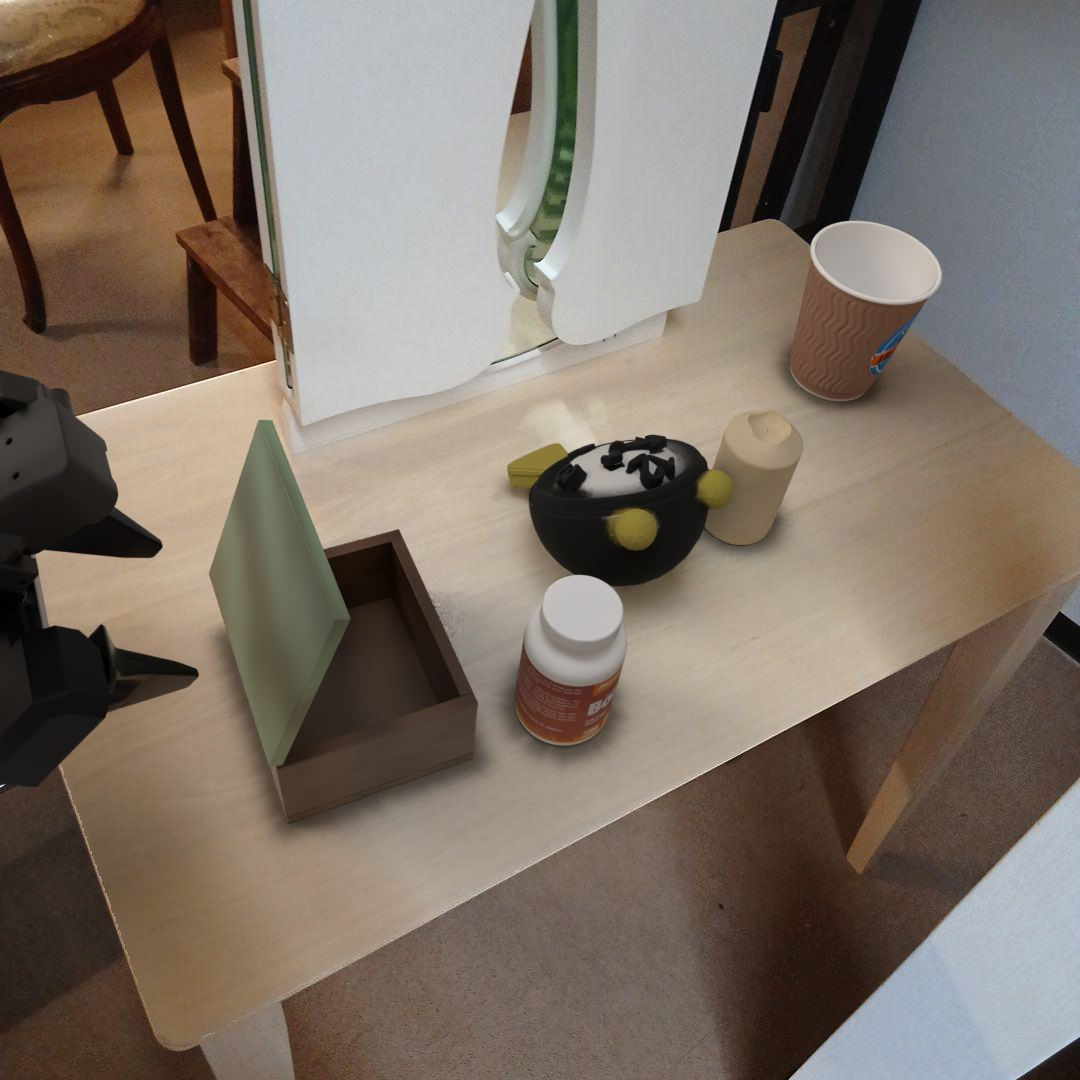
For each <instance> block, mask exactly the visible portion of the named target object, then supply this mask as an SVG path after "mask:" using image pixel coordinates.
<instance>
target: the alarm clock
mask: <svg viewBox="0 0 1080 1080" xmlns="http://www.w3.org/2000/svg"><path fill="white" fill-rule="evenodd" d="M506 466H507V468H506V469H507V470H506V471H507V475H508V479H509V483H510V485H511V486H512V487H513V488H522V489H523V488H524V489H526V488H527V489H529V492H528V511H529V516H530V518H531V522H532V526H533V529H534V531H535V533H536V535H537V538H538V539H539V541H540V543H541V544H542V546H543V547H544V549H545V550H546V551H547V553H548V554H549V555H550V556H551V557H552V558H553V559H554V561H555V562H557V563H558V565H560V566H561V567H562V568H563V569H565V570H566V571H567V572H569V573H570V574H572V575H585V576H591V577H594V578H597V579H600V580H602V581H603V582H605V583H607V584H608V585H609V586H611V587H612V588H622V587H635V586H639V585H644V584H647V583H649V582H653V581H655V580H657V579H659V578H662V577H663V576H665V575H667V574H668V573H670V572H671V571H673V570H674V569H675V568H676V567H678V565H680V564H681V563H682V562H683V561H684V560H685V559H686V558H687V557H688V556H689V555H690V554H691V552H692V551H693V549H694V547H695V546H696V545H697V543H698V542H699V540H700V538H701V536H702V534H703V531H704V530H705V523H706V519H707V515H708V510H709V509H719V508H721V507H723V506H725V505H727V504H728V502H729V501H730V500H731V499H732V495H733V491H734V487H733V482H732V480H731V478H730V477H729V476H728V475H727V474H726V473H725V472H723V471H721V470H716V469H712V468H711V469H710V468H709V465H708V461H707V459H706V457H704V456H703V455H702V453H701V451H699V450H698V449H697V448H696V447H695V446H693V445H692V444H690V443H688V442H686V441H682V440H679V439H672V438H667V436H665V435H660V434H647V435H645V436H644V437H640V436H635V437H634V439H626V440H618V439H617V440H614V441H612V442H605V443H601V444H598V445H596V444H595V443H589V444H586V445H583V446H580V447H578V448H576V449H573V450H572V451H570V452H567V450H566V448H565V447H564V446H563V445H562V444H561V443H558V442H555V443H550V444H548V445H545V446H543V447H540V448H538V449H536V450H533V451H532V452H529V453H527V454H525V455H523V456H521V457H518V458H515V459H514V460H512V461H510V463H508V464H507V465H506Z"/></svg>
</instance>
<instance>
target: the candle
mask: <svg viewBox="0 0 1080 1080" xmlns="http://www.w3.org/2000/svg"><path fill="white" fill-rule="evenodd" d="M719 444H720V445H719V447H718V450H717V453H716V457H715V458H714V459H715V460H714V462H713V465H712V467H711V469H716V470H721V471H723V472H725V473H726V474H727V475H728V476H729V477H730V478H731V480H732V482H733V487H734V491H733V495H732V499H731V500H730V501H729V502H728V504H727V505H725V506H723V507H721V508H719V509H709V510H708V515H707V519H706V523H705V527H704V529H705V530H706V531H708V533H709V534H711V535H712V536H713V537H715V538H716V539H718V540H720V541H722V542H724V543H727V544H729V545H730V544H731V545H736V546H748V545H754V544H755V543H758V542H760V541H762V540H763V539H764V538H765V537H766V536H767V534H769V532H770V530H771V528H772V526H773V524H774V521H775V519H776V517H777V514H778V512H779V510H780V507H781V505H782V503H783V500H784V497H785V495H786V493H787V490H788V488H789V486H790V483H791V481H792V479H793V477H794V474H795V471H796V469H797V467H798V464H799V462H800V460H801V458H802V454H803V452H804V441H803V438H802V436H801V434H800V432H799V431H798V429H797V428H796V427H795V426H794V425H793V424H792V423H791V422H790V421H789V420H788V419H786V418H785V417H784V416H783V415H781V413H780V412H779V411H778V410H776V409H767V410H750V411H744V412H742V413H739V414H736V415H735V416H734V417H732V418H731V419H730V420H729V421H728V423H727V424H726V426H725V429H724V433H723V436H722V438H721V441H720V443H719Z"/></svg>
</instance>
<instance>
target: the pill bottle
mask: <svg viewBox="0 0 1080 1080" xmlns="http://www.w3.org/2000/svg"><path fill="white" fill-rule="evenodd" d="M623 618H624V605H623V602H622V599H621V597H620V595H619V594H618V593H617V591H616V590H615V589H614V587H611V586H609V585H608V584H607V583H605V582H603V581H602V580H600V579H597V578H594V577H591V576H585V575H574V574H572V575H568V576H564V577H561V578H559V579H557V580H556V581H554V582H552V584H550V586H549V587H548V588H547V589H546V591H545V592H544V594H543V597H542V601H541V603H540V604H538V605H537V606H536V608H535V609H534V610H533V611H532V612H531V613H530V615H529V616H528V619H527V621H526V624H525V627H524V633H523V638H522V645H521V651H520V659H519V665H518V669H517V670H518V671H517V676H516V677H517V678H516V684H515V689H514V708H515V713H516V715H517V717H518V720H519V721H520V723H521V724H522V726H523V727H524V729H526V731H528V733H529V734H531V735H532V736H533V737H535V738H536V739H538V740H540V741H542V742H544V743H547V744H551V745H556V746H573V745H574V746H575V745H578V744H582V743H584V742H586V741H588V740H590V739H592V738H593V737H595V735H597V734H598V733H599V732H600V731H601V730H602V728H603V727H604V725H605V723H606V722H607V720H608V716H609V715H610V711H611V708H612V704H613V700H614V697H615V694H616V690H617V688H618V684H619V680H620V678H621V674H622V669H623V665H624V663H625V659H626V655H627V651H628V635H627V631H626V627H625V625H624V622H623Z"/></svg>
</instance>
